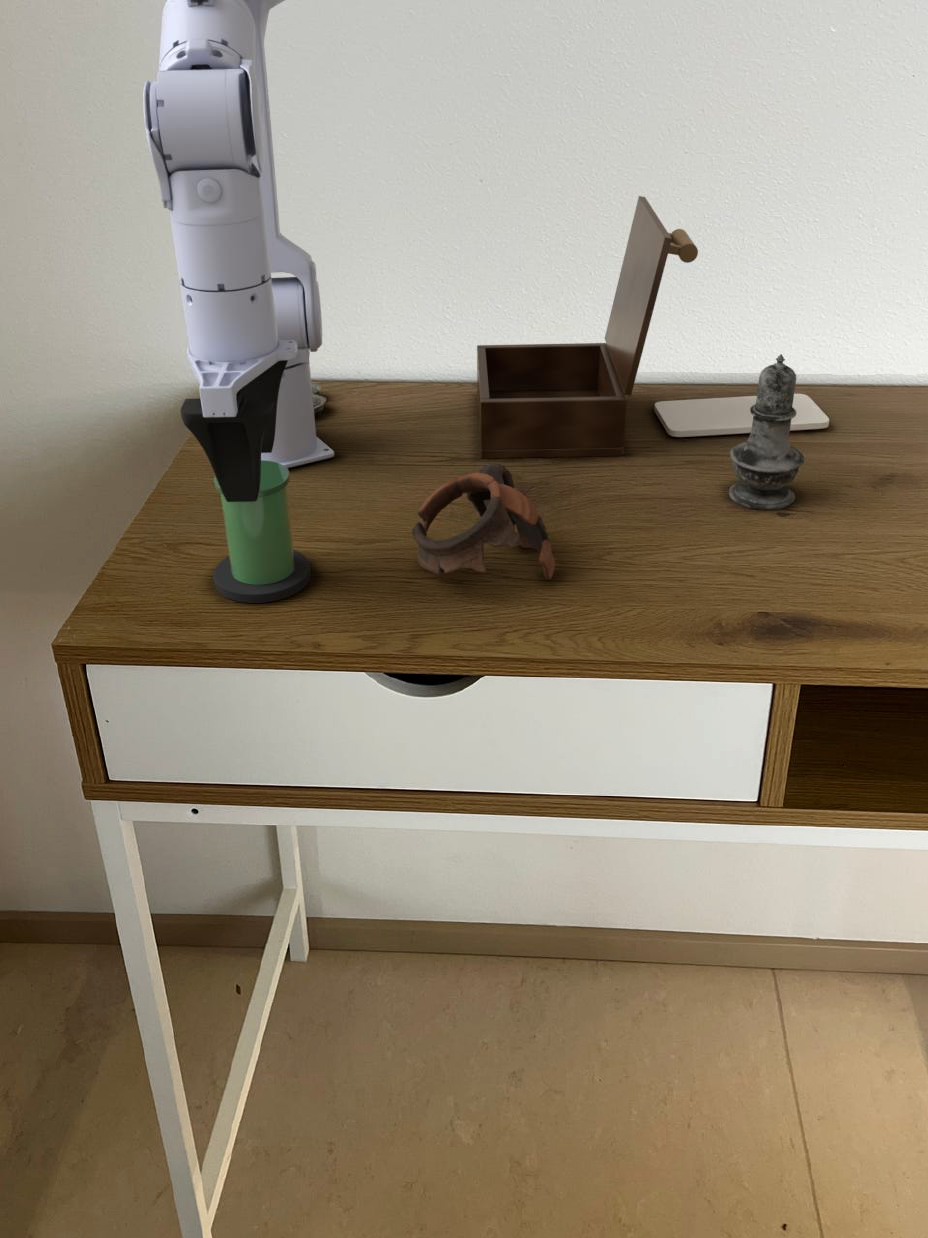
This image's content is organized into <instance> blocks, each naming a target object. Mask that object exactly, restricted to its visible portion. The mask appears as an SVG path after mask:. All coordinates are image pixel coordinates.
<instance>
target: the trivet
mask: <svg viewBox="0 0 928 1238" xmlns="http://www.w3.org/2000/svg"><path fill="white" fill-rule="evenodd" d="M293 552H294V561H295V569H294V571H293V573H292V574H291V575H290V576H288V577H287V578H285V579H283V580H281V581H278V582H275V583H271V584H265V585H251V584H246V583H242V582H240V581H238V580H236V579H235V578H234V577H233V575H232V572H231V565H230V558H229V555H228V556H226V557H225V558H223V559H222V560H221V561H220V562H219V563H218V564H217V565H216V567H215V568H214V570H213V582H214V587H215V589H216V591H217V592H218V593H219V594H220V595H221V596H223V597H224V598H226V599H228V600H231V601H234V602H238V603H244V604H265V603H266V604H267V603H273V602H277V601H281V600H284V599H287V598H290V597H292V596H294V595H296V594H297V593H300V592H301V591H302V590H303V589H304V588H305V587H306V586H307V585H308V584H309V582H310V580H311V577H312V572H311V564H310V561H309V559H308V558H307V557H306V556H305V555H304V554H302V553H301V552H299V551H297V550H295V549H293Z"/></svg>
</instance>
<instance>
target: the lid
mask: <svg viewBox="0 0 928 1238" xmlns="http://www.w3.org/2000/svg"><path fill="white" fill-rule="evenodd" d="M669 255H675V256H678V258H679V259H680V261H682V262H683V263H686V264H689V263H692V262H694V261H695V260H696V259H697V258H698V255H699V250H698V246H696V244H695V243H694V241H693V240H692V239H691V237H690V236H689V235H688V232H687V231H686V230H684V229H682V228H677V229H674V230H673V231H672V232H668V230H667V229H666V227H665V225H664V224H663V222H662V221H661V219H660V218H659V216H658V215H657V213H656V212H655V211H654V208H653V207H652V205H651V204H650V202H649V201H648V199H647V198H646V196H642V195H639V196H638V198H637V202H636V206H635V209H634V214H633V219H632V222H631V227H630V231H629V234H628V239H627V243H626V248H625V252H624V256H623V261H622V264H621V268H620V273H619V277H618V280H617V286H616V289H615V293H614V297H613V301H612V305H611V310H610V313H609V314H610V315H609V319H608V322H607V326H606V330H605V335H604V341H605V343H606V344H607V347H608V350H609V352H610V355H611V358H612V361H613V364H614V367H615V369H616V372H617V375H618V378H619V381H620V384H621V386H622V389H623V392H624V395H626V396H630V397H631V396H632V394H633V389H634V387H635V383H636V378H637V374H638V371H639V367H640V363H641V359H642V355H643V353H644V352H643V351H644V348H645V344H646V340H647V336H648V332H649V328H650V325H651V321H652V316H653V314H654V309H655V305H656V302H657V298H658V294H659V291H660V286H661V282H662V279H663V275H664V271H665V267H666V263H667V259H668V256H669Z"/></svg>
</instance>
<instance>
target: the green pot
mask: <svg viewBox="0 0 928 1238" xmlns="http://www.w3.org/2000/svg"><path fill="white" fill-rule="evenodd" d="M290 474H291V473H290V471H289V468H286V467H285V466H283V465H282V464H279V463H276V462H272V461H264V460H261V481H260V489H259V494H258V498H257V501H255V502H227V501H226V499H225V497H224V495H223V493H222V491H221V489H220V486H219V484H218V481H217V479H216V476H215V475H214V478H213V484H214V485H213V486H214V488H215V490H216V491H217V492H218V493H219V495H220V496H219V497H220V501H221V508H222V515H223V523H224V530H225V537H226V543H227V544H226V545H227V552H228V556H229V558H230V565H231V572H232V575H233V577H234V578H235V579H236V580H238V581H240V582H242V583H246V584H251V585H265V584H271V583H275V582H278V581H281V580H283V579H285V578H287V577H288V576H290V575H291V574H292V573H293V571H294V569H295V561H294V552H293V550H294V543H293V535H292V525H291V524H292V523H291V515H290V507H289V496H288V488H287V487H288V485H289V483H290V481H291V477H290V476H291V475H290Z"/></svg>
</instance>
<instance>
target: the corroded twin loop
mask: <svg viewBox="0 0 928 1238" xmlns="http://www.w3.org/2000/svg"><path fill="white" fill-rule="evenodd" d="M311 384H312V395H313V406H314V415H315V414H316V413H320V412H322V411H323V410H324V405H325V403H326V401H327V397H326V396H322V395H320V391H322V385H320V384H317V383H315V382H312V381H311Z"/></svg>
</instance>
